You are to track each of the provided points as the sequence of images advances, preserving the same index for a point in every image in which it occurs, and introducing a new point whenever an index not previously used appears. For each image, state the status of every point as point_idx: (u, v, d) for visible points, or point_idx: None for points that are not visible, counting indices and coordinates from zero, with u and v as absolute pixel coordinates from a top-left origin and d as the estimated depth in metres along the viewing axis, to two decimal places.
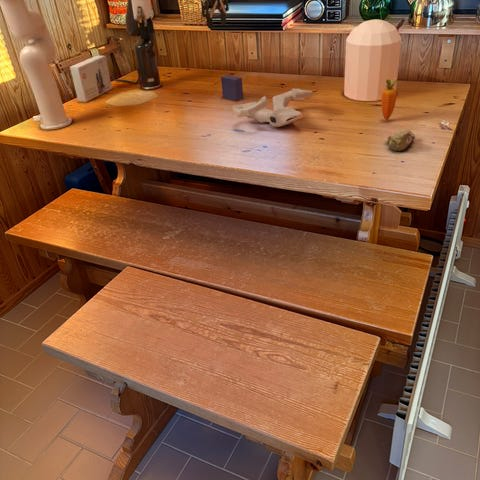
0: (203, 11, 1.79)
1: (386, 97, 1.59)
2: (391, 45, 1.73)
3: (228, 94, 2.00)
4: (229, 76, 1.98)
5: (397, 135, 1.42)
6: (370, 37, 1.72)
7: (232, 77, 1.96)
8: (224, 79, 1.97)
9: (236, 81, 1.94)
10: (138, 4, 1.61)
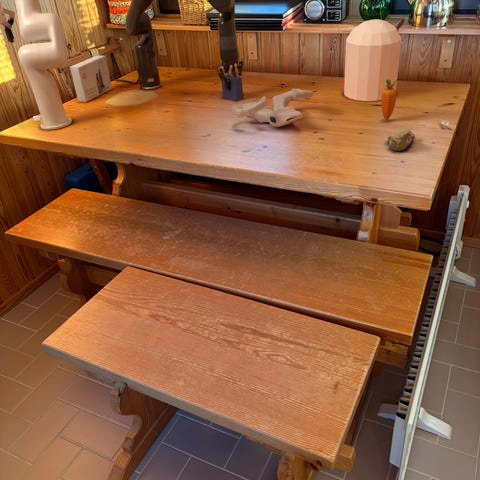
0: None
1: (386, 97, 1.59)
2: (391, 45, 1.73)
3: (228, 94, 2.00)
4: None
5: (397, 135, 1.42)
6: (370, 37, 1.72)
7: (232, 77, 1.96)
8: None
9: (236, 81, 1.94)
10: None
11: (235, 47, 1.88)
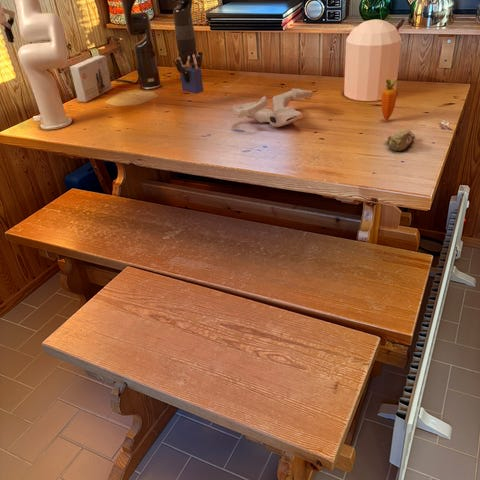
0: None
1: (386, 97, 1.59)
2: (391, 45, 1.73)
3: (187, 87, 1.91)
4: (188, 68, 1.89)
5: (397, 135, 1.42)
6: (370, 37, 1.72)
7: (191, 69, 1.87)
8: None
9: (195, 73, 1.85)
10: None
11: (192, 37, 1.79)
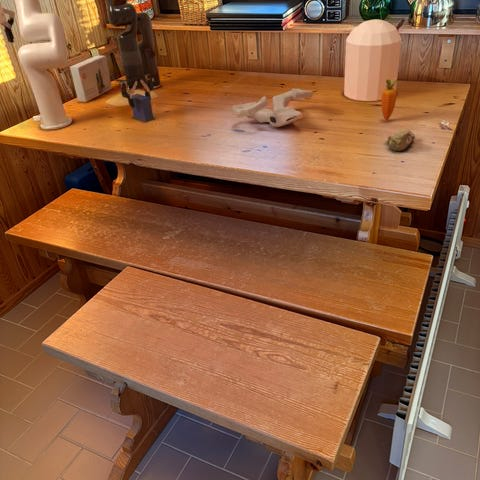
0: None
1: (386, 97, 1.59)
2: (391, 45, 1.73)
3: (138, 114, 1.88)
4: (138, 95, 1.86)
5: (397, 135, 1.42)
6: (370, 37, 1.72)
7: (140, 96, 1.84)
8: None
9: (143, 101, 1.82)
10: None
11: (138, 63, 1.75)
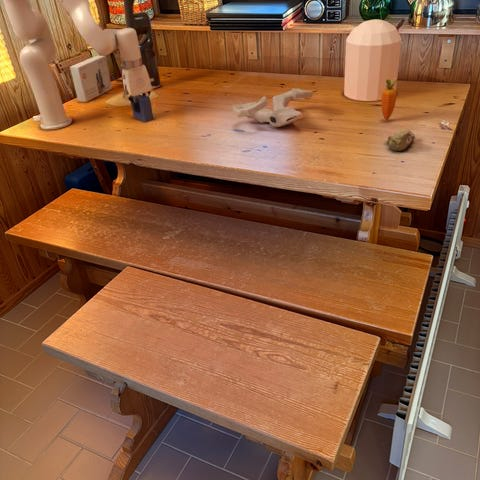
0: None
1: (386, 97, 1.59)
2: (391, 45, 1.73)
3: (137, 114, 1.88)
4: (137, 95, 1.86)
5: (397, 135, 1.42)
6: (370, 37, 1.72)
7: (140, 97, 1.84)
8: None
9: (143, 101, 1.82)
10: None
11: None
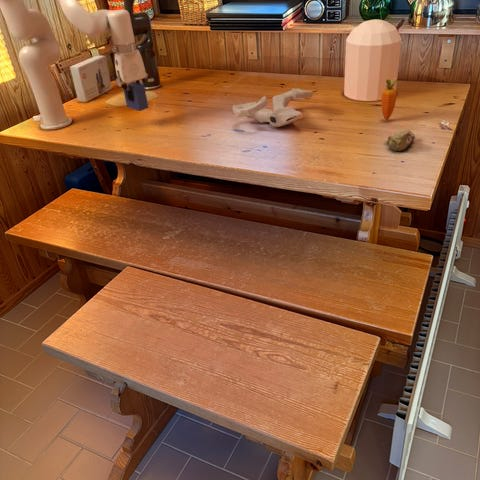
0: None
1: (386, 97, 1.59)
2: (391, 45, 1.73)
3: (131, 103, 1.77)
4: (131, 83, 1.75)
5: (397, 135, 1.42)
6: (370, 37, 1.72)
7: (134, 84, 1.73)
8: None
9: (137, 88, 1.71)
10: None
11: None
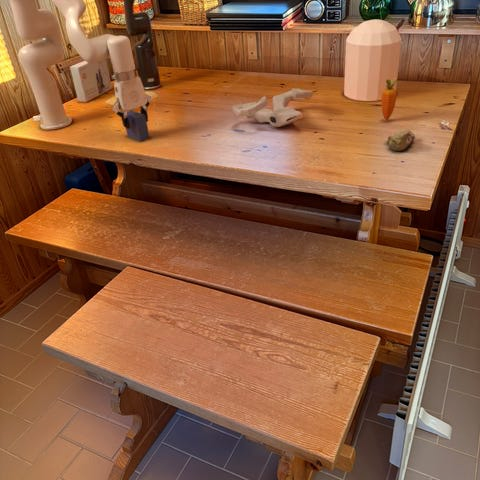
0: None
1: (386, 97, 1.59)
2: (391, 45, 1.73)
3: (132, 133, 1.71)
4: (132, 112, 1.69)
5: (397, 135, 1.42)
6: (370, 37, 1.72)
7: (134, 114, 1.67)
8: None
9: (137, 119, 1.65)
10: None
11: None
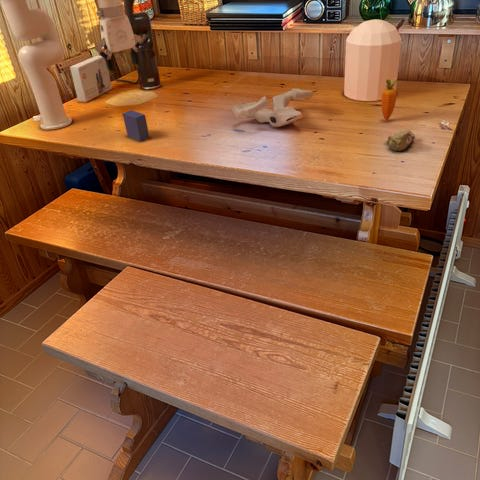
0: None
1: (386, 97, 1.59)
2: (391, 45, 1.73)
3: (132, 133, 1.71)
4: (132, 112, 1.69)
5: (397, 135, 1.42)
6: (370, 37, 1.72)
7: (134, 114, 1.67)
8: (126, 116, 1.69)
9: (137, 119, 1.65)
10: None
11: None
